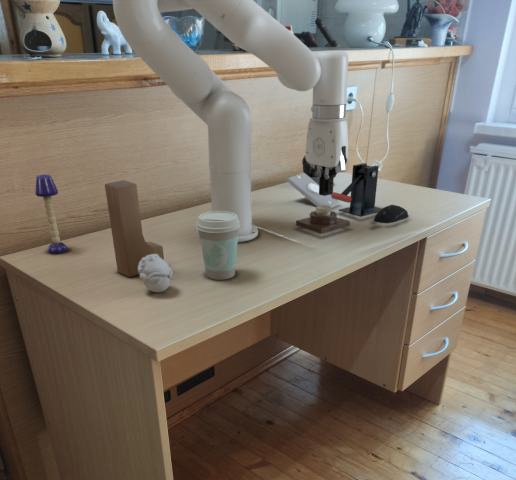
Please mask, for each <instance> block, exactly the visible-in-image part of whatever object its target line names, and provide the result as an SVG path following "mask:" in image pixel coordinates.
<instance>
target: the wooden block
mask: <svg viewBox="0 0 516 480" xmlns="http://www.w3.org/2000/svg"><path fill="white" fill-rule="evenodd" d="M104 189H105V190H104V191H105V196H106V202H107V208H108V209H107V210H108V215H109V223H110V229H111V237H112V243H113V249H114V256H115V264H116V270H117V272H118V273H120V274H122V275H124V276H126V277H128V278H131V277H135V276H138V275H140V274H139V272H138V265H139V262H140V260H142V258H143V257H145V256H147V255H151V254H158V255H159V257H160V258H162V259H163V260H164V261H165V255H164V247H163V245H161V244H158V243H155V242H153V241H146V240H145V237H144V234H143V227H142V217H141V212H140V203H139V197H138V194H139V193H138V187H137V183H135V182H132V181H128V180H123V179H122V180H118V181H112V182H108V183H105V184H104Z"/></svg>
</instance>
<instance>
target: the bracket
mask: <svg viewBox="0 0 516 480" xmlns="http://www.w3.org/2000/svg"><path fill="white" fill-rule="evenodd" d="M364 165H367V166H368V163H365V162H362V163H357V164H353V165H352V172H351V173H352V174H351V183H352V182H353V181H354V180H355V179H356V178H357V177H358V176H359V174H358V171H359V170H360V169H361V168H362V167H363V166H364ZM369 166H370V167H365V170H364V180H363V179H362V180H361V181H360V182H359V183H358V185H357V186H356V187H355V188H354V189H353V190H352V191H351V192H350V196H351V199H352V200H351V201H350V202H349V207H344V208H340V209H338V211H339V212H341V213H345V214H349V215H352V216H356V217H360V218H361V217H365V216H370V215H373V214H377V213H378V212H379V211H380V210H381V209H383V207H382V208H381V207H379V206H376V197H377V186H378V177H379V176H378V175H379V165H376V164H375V165H369Z"/></svg>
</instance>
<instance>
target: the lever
mask: <svg viewBox="0 0 516 480" xmlns="http://www.w3.org/2000/svg"><path fill="white" fill-rule="evenodd" d="M370 166H371V165H368V164H367V165H364V166H363V167H362V168H361V169H360V170H359V171H358V174H359V176H358V177H357V178H356V179H355V180H354V181H353V182H352V181H351V183H350V184H349V185H348V186H347V187H346V188H345V189H343V191H342V192H341V193H339V192H335V191H333V194H331V197H332V199H336V200H338V201H339V202H340V201H341V202H344V203H348V204H350V201H351V200H352V199H351V195H350V194H351V191H352V190H353V189H354V188H355V187H356V186H357V185H358V183H359V182H360V181H361V180H362V179H363V180H364V170H365V167H370Z"/></svg>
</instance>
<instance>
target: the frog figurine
mask: <svg viewBox="0 0 516 480" xmlns="http://www.w3.org/2000/svg"><path fill="white" fill-rule="evenodd" d="M138 272H139V274H138V275H139V279H140V280H142V284H143V285H144V286H145V288H147V289H148V290H149V291H151V292H152V293H162V292H164V291H166V290H167V289H168V288H169V287H170V284H171V281H172V280H173V274H174V272H173V271H172V268H171V267H170V265H169V263H168V262H167V261H166V260H165V259H164V260H163V259H162V258H160V257H159V255H158V254H151V255H147V256H145V257H143V258H142V260H140V262H139V265H138Z"/></svg>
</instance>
